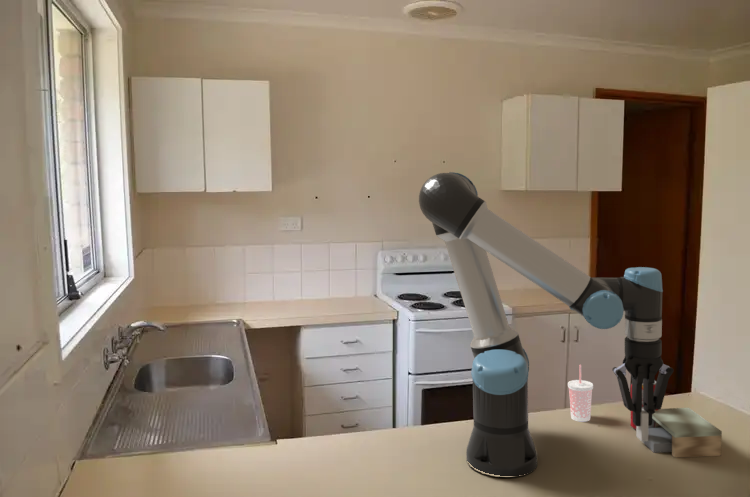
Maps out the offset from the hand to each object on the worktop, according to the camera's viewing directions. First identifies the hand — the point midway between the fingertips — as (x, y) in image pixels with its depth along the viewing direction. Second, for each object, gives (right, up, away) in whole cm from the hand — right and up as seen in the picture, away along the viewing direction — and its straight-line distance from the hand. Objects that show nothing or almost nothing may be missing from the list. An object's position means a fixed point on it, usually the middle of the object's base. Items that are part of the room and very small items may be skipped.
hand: (642, 438), depth 133 cm
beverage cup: (-8, 0, +16) cm, 18 cm away
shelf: (+9, -1, 0) cm, 9 cm away
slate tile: (+6, -2, 0) cm, 6 cm away
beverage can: (+4, -1, +8) cm, 9 cm away
